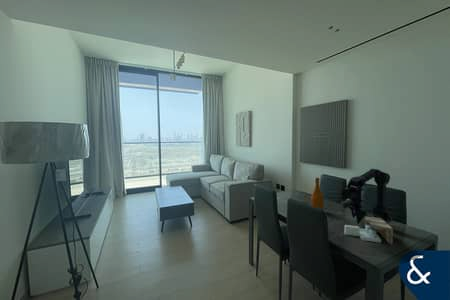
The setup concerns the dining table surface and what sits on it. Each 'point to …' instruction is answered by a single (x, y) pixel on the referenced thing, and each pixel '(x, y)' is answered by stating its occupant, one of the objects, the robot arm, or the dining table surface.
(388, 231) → the cream wedge slab
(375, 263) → the dining table surface
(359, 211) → the robot arm
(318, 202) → the wine bottle
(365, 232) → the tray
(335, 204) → the dining table surface
